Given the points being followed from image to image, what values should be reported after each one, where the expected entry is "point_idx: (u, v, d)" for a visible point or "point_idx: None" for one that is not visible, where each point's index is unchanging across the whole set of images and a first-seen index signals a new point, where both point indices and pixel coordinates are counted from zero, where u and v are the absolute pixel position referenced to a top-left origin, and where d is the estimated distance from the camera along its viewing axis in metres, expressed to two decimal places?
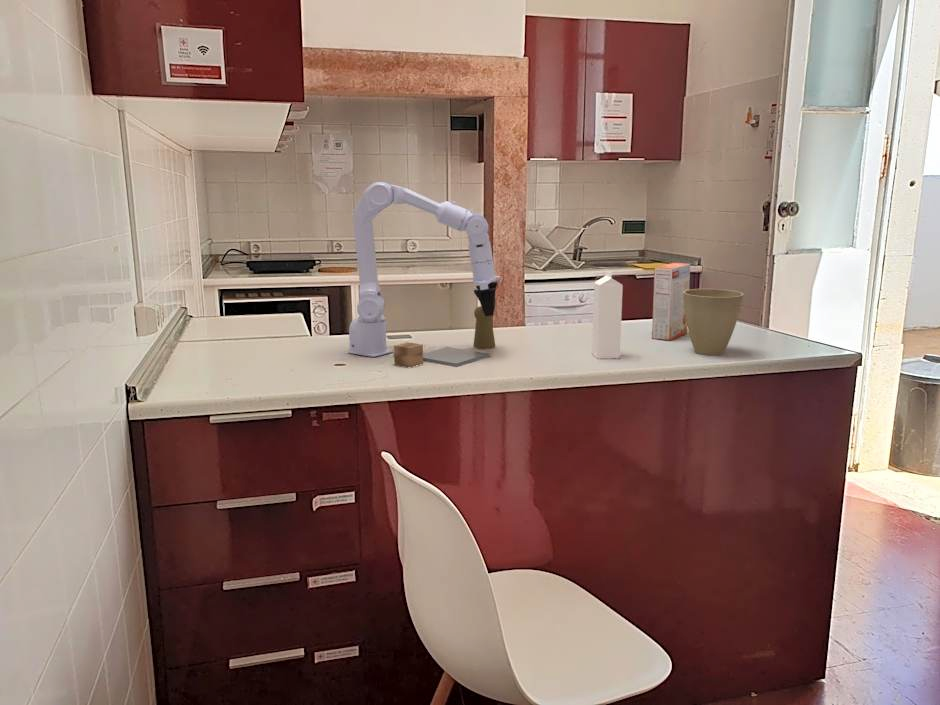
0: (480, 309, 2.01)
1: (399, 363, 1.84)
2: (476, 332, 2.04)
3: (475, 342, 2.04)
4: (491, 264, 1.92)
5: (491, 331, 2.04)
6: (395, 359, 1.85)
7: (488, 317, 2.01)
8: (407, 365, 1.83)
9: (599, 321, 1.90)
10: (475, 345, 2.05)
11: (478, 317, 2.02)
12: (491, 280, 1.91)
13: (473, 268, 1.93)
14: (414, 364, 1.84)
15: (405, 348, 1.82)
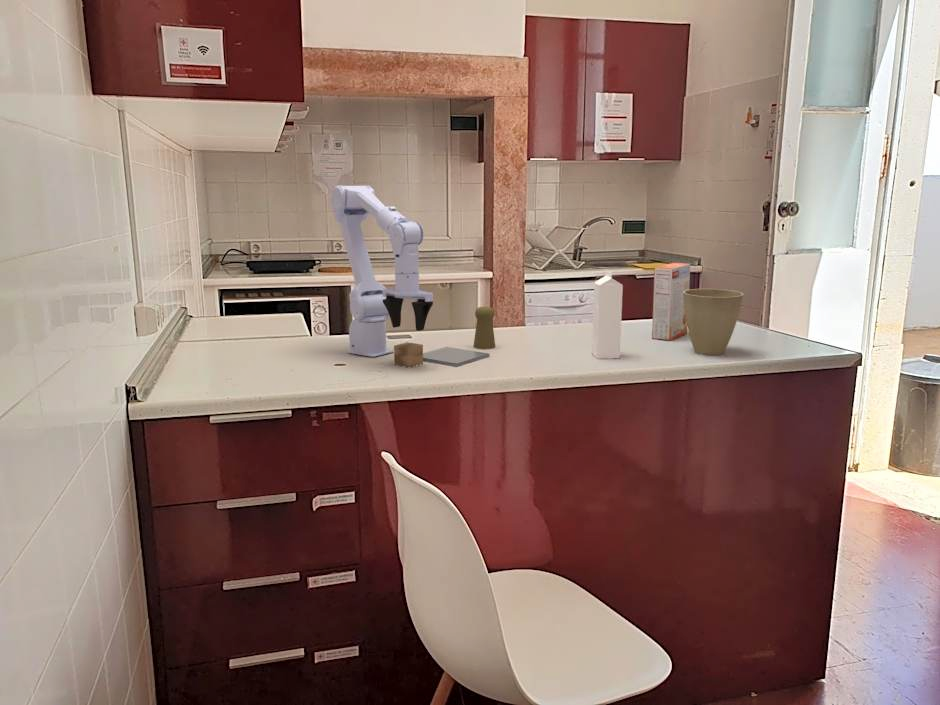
0: (481, 309, 2.02)
1: (399, 363, 1.84)
2: (476, 332, 2.04)
3: (475, 342, 2.05)
4: (395, 277, 1.80)
5: (491, 331, 2.04)
6: (395, 359, 1.85)
7: (489, 317, 2.02)
8: (407, 365, 1.83)
9: (599, 321, 1.90)
10: (475, 345, 2.05)
11: (479, 317, 2.02)
12: (390, 292, 1.83)
13: None
14: (414, 364, 1.84)
15: (405, 348, 1.82)
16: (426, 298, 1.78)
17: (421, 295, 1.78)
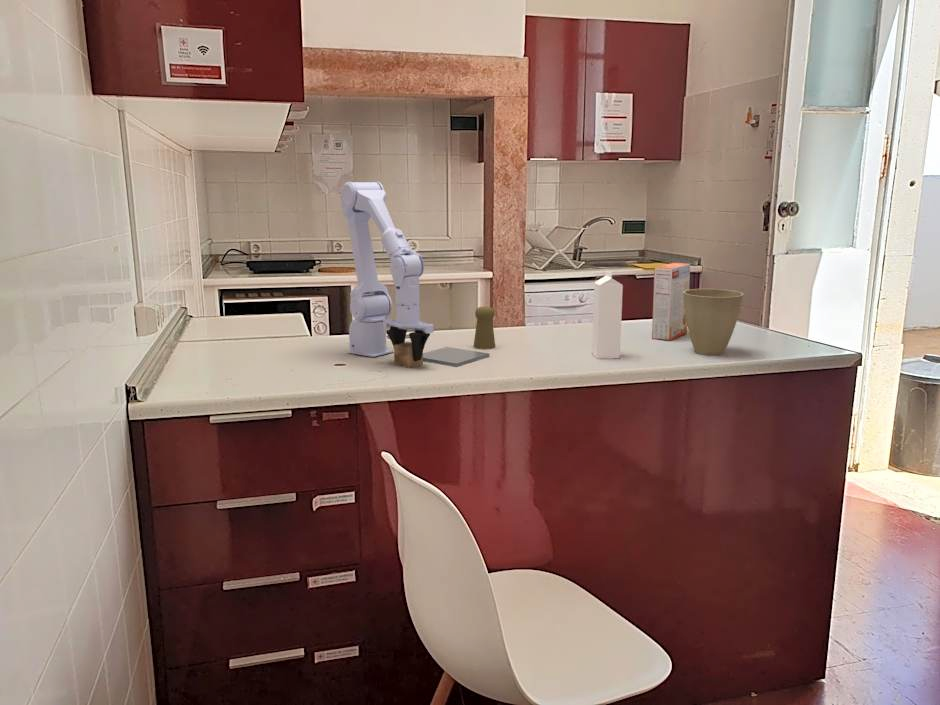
0: (481, 309, 2.02)
1: (399, 363, 1.84)
2: (476, 332, 2.04)
3: (475, 342, 2.05)
4: (396, 308, 1.82)
5: (491, 331, 2.04)
6: (395, 359, 1.85)
7: (489, 317, 2.02)
8: (407, 365, 1.83)
9: (599, 321, 1.90)
10: (475, 345, 2.05)
11: (479, 316, 2.02)
12: (391, 322, 1.84)
13: None
14: (414, 364, 1.84)
15: (405, 348, 1.82)
16: (426, 330, 1.79)
17: (421, 327, 1.80)
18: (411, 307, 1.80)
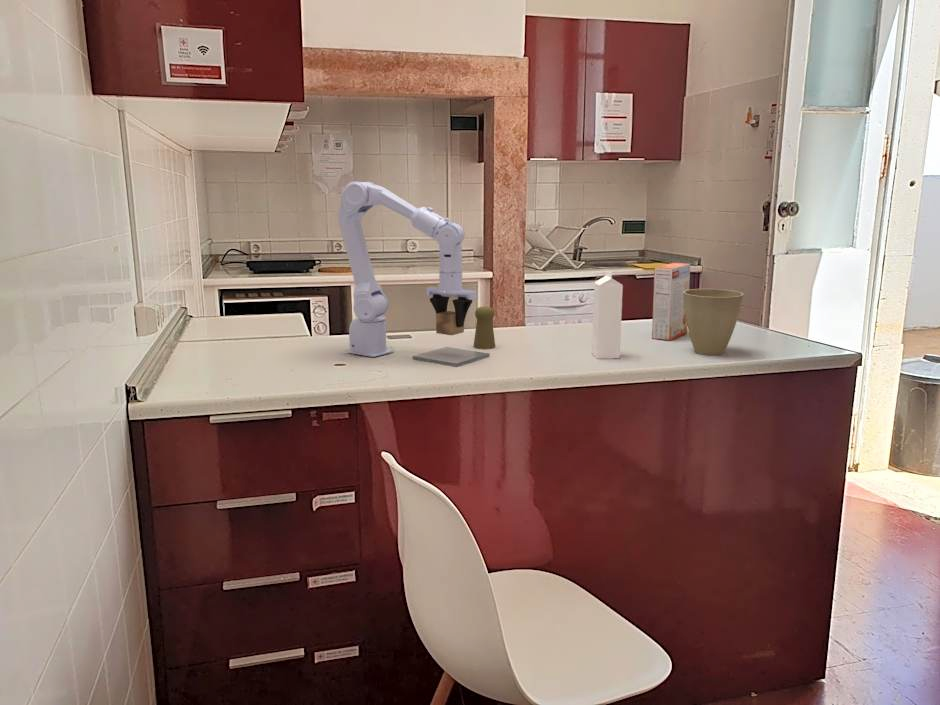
0: (481, 309, 2.02)
1: (441, 331, 1.90)
2: (476, 332, 2.04)
3: (475, 342, 2.05)
4: (440, 276, 1.88)
5: (491, 331, 2.04)
6: (437, 327, 1.90)
7: (489, 317, 2.02)
8: (449, 332, 1.88)
9: (599, 321, 1.90)
10: (475, 345, 2.05)
11: (479, 316, 2.03)
12: (434, 290, 1.90)
13: None
14: (456, 331, 1.89)
15: (447, 316, 1.88)
16: (470, 296, 1.85)
17: (465, 293, 1.85)
18: (455, 274, 1.86)
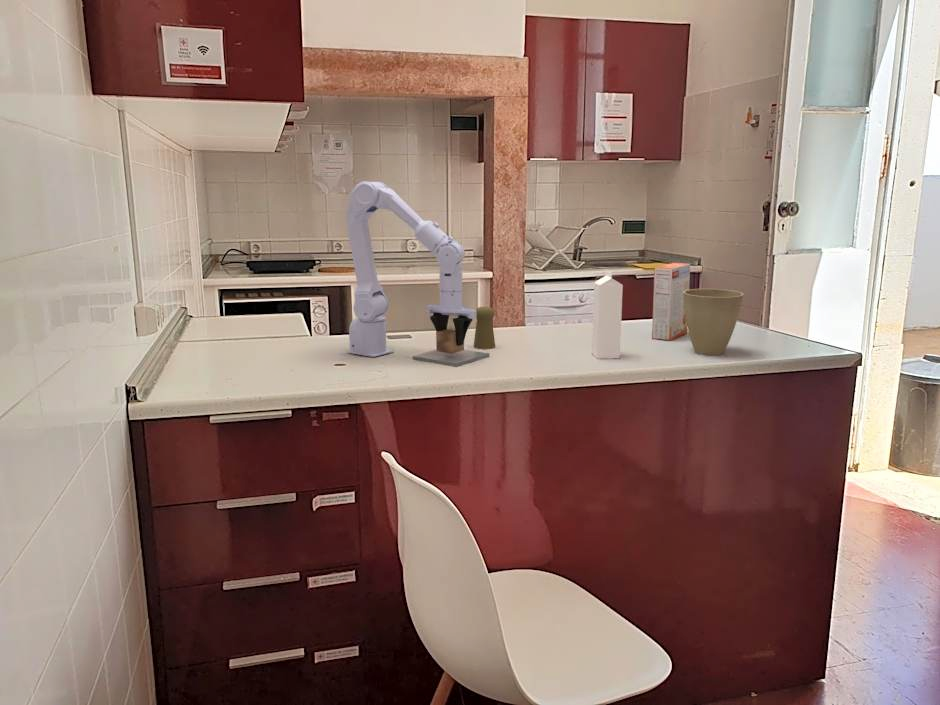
0: (481, 309, 2.02)
1: (441, 349, 1.91)
2: (476, 332, 2.04)
3: (475, 342, 2.05)
4: (440, 295, 1.89)
5: (491, 331, 2.04)
6: (437, 345, 1.91)
7: (488, 317, 2.02)
8: (449, 351, 1.89)
9: (599, 321, 1.90)
10: (475, 345, 2.05)
11: (479, 316, 2.03)
12: (434, 308, 1.91)
13: None
14: (456, 350, 1.90)
15: (447, 334, 1.89)
16: (470, 315, 1.86)
17: (465, 312, 1.86)
18: (455, 293, 1.87)
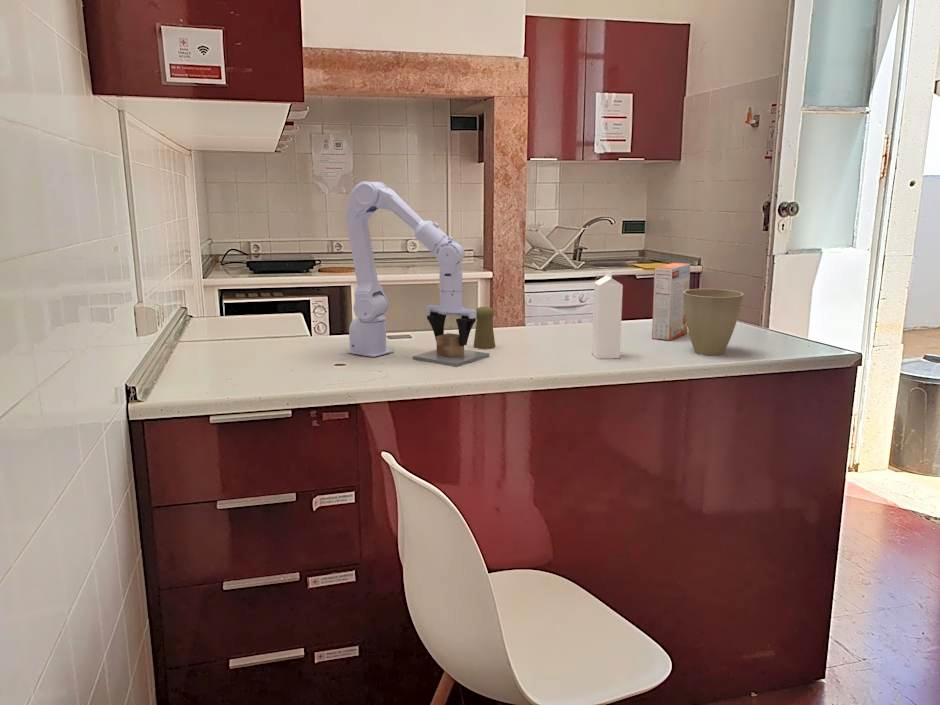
0: (481, 309, 2.02)
1: (441, 353, 1.91)
2: (476, 332, 2.04)
3: (475, 342, 2.05)
4: (440, 295, 1.89)
5: (491, 331, 2.04)
6: (437, 349, 1.92)
7: (488, 317, 2.02)
8: (449, 355, 1.90)
9: (599, 321, 1.90)
10: (475, 345, 2.05)
11: (478, 317, 2.03)
12: (435, 308, 1.91)
13: None
14: (456, 354, 1.90)
15: (448, 338, 1.89)
16: (470, 315, 1.86)
17: (465, 312, 1.86)
18: (455, 293, 1.87)
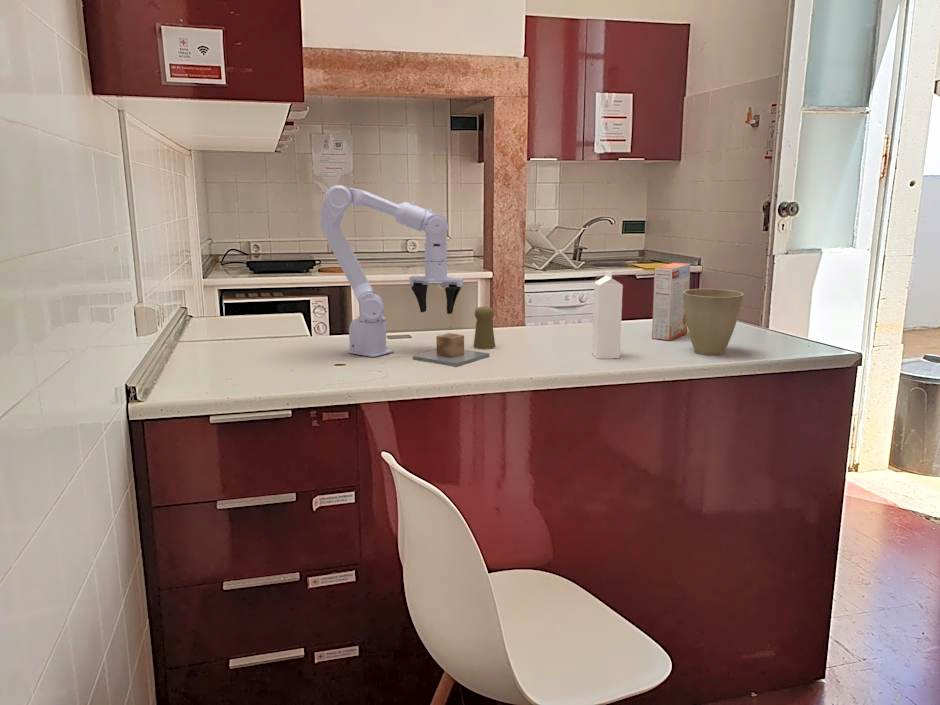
0: (480, 309, 2.02)
1: (441, 353, 1.91)
2: (476, 332, 2.04)
3: (475, 342, 2.05)
4: (426, 265, 1.94)
5: (491, 331, 2.04)
6: (437, 349, 1.92)
7: (488, 317, 2.02)
8: (449, 355, 1.90)
9: (599, 321, 1.90)
10: (475, 345, 2.05)
11: (478, 317, 2.03)
12: (420, 279, 1.96)
13: None
14: (456, 354, 1.90)
15: (448, 338, 1.89)
16: (458, 283, 1.94)
17: (453, 281, 1.94)
18: (442, 263, 1.94)
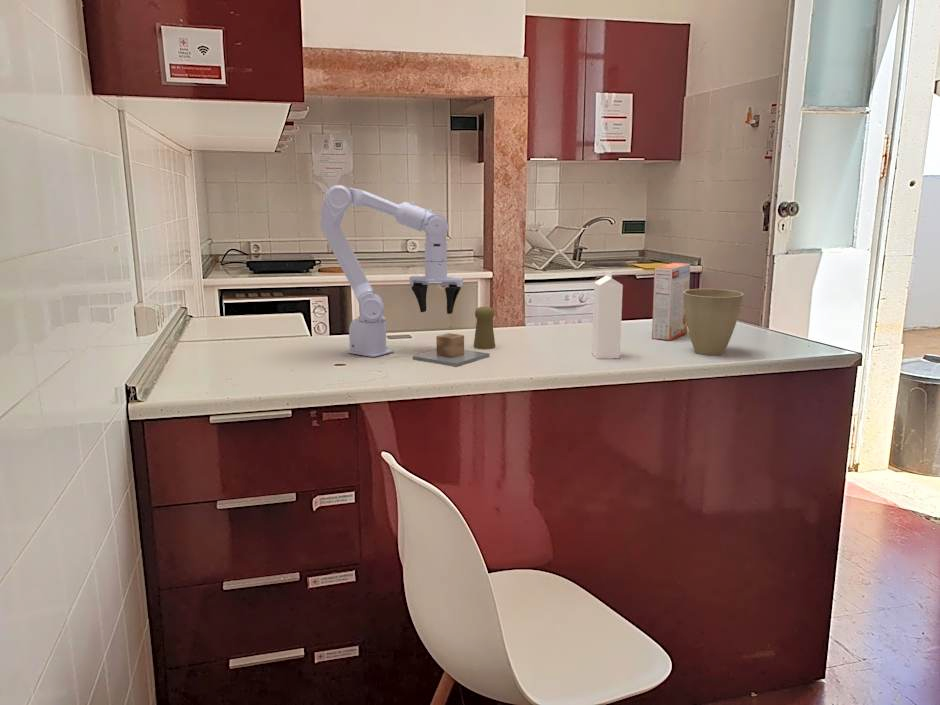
0: (481, 309, 2.02)
1: (441, 353, 1.91)
2: (476, 332, 2.04)
3: (475, 342, 2.05)
4: (426, 265, 1.94)
5: (491, 331, 2.04)
6: (437, 349, 1.92)
7: (488, 317, 2.02)
8: (449, 355, 1.90)
9: (599, 321, 1.90)
10: (475, 345, 2.05)
11: (479, 317, 2.02)
12: (420, 279, 1.96)
13: None
14: (456, 354, 1.90)
15: (448, 338, 1.89)
16: (458, 283, 1.94)
17: (453, 281, 1.94)
18: (442, 263, 1.94)
